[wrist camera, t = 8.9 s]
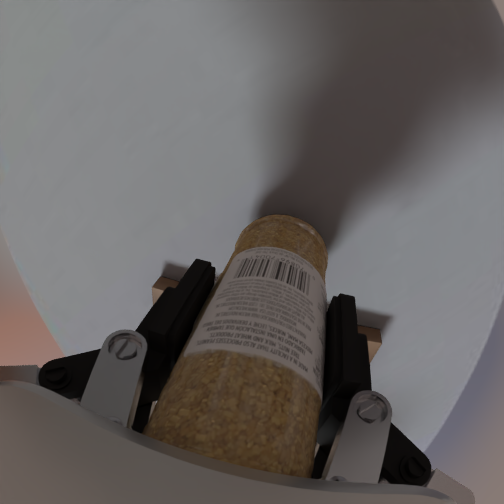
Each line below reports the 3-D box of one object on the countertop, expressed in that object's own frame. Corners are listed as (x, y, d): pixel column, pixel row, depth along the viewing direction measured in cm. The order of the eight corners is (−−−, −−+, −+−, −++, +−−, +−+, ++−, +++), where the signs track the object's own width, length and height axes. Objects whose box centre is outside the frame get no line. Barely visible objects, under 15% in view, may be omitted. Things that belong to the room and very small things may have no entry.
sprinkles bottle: (224, 267, 16) (92, 523, 4) (260, 193, 14) (76, 528, 2) (300, 305, 16) (246, 574, 5) (347, 240, 14) (348, 587, 2)
